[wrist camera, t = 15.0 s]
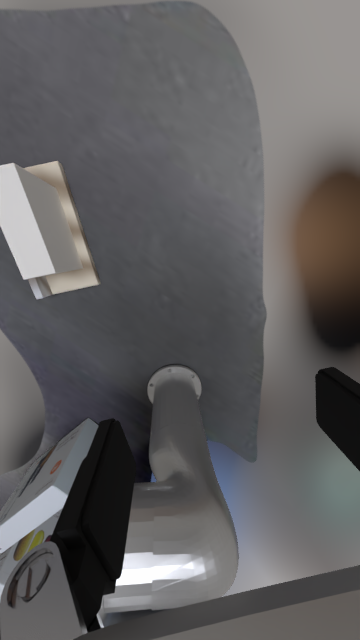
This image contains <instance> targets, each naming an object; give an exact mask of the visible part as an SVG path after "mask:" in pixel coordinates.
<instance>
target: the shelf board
mask: <svg viewBox="0 0 360 640" xmlns="http://www.w3.org/2000/svg"><path fill="white" fill-rule="evenodd" d="M23 169H25V170H26V171H28V172H30V173H31V174H33V175H35V176H36V177H38V178H40V179H41V180H43V181H45V182H46V183H48V184H50V185H51V186H53V187H55V188H56V189H57V192H58V195H59V198H60V201H61V204H62V207H63V210H64V213H65V216H66V219H67V222H68V225H69V228H70V230H71V233H72V236H73V239H74V242H75V245H76V248H77V251H78V254H79V257H80V260H81V263H82V266H83V268H82V269H77V270H72V271H68V272H63V273H58V274H52V275H47V276H41V277H36V278H30V279H28V281H29V283H30V285H31V288H32V290H33V292H34V295H35V297H36V299H40V298H44V297H47V296H50V295H53V294H57V293H62V292H66V291H71V290H75V289H80V288H85V287H89V286H94V285H98V284H101V283H100V280H99V277H98V274H97V271H96V268H95V264H94V261H93V258H92V255H91V252H90V249H89V246H88V243H87V240H86V237H85V234H84V231H83V228H82V225H81V222H80V219H79V216H78V212H77V209H76V206H75V203H74V200H73V197H72V194H71V191H70V188H69V185H68V182H67V179H66V176H65V173H64V170H63V167H62V164H60V163H59V162H58V161H55V162H50V163H45V164H41V165H36V166H31V167H27V168H23Z"/></svg>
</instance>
